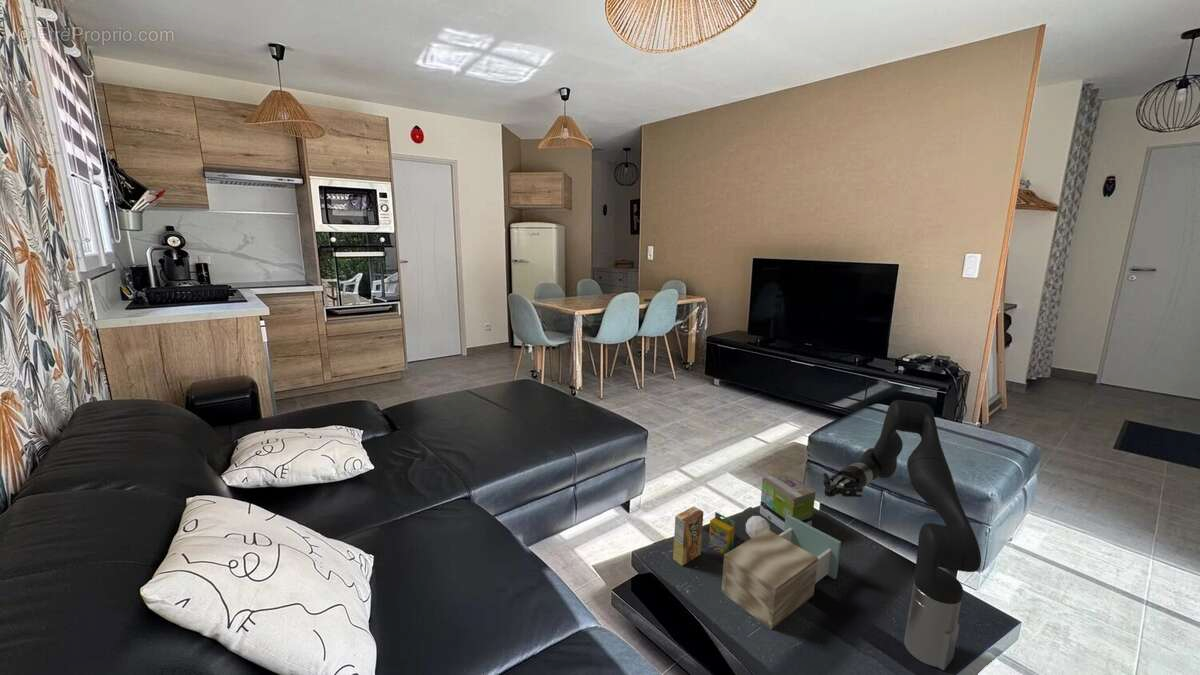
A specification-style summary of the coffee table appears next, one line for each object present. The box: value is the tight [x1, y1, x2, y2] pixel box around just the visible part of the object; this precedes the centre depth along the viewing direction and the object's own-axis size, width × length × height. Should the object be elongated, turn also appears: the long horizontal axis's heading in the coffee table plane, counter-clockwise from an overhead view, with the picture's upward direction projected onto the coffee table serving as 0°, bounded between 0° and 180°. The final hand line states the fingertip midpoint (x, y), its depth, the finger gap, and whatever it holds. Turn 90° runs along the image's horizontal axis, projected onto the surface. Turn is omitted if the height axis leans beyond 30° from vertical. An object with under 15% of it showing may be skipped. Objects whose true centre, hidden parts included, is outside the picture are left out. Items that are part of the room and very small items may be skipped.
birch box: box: [721, 529, 818, 630], centre depth 131 cm, size 16×20×12 cm
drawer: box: [778, 514, 842, 584], centre depth 138 cm, size 17×20×12 cm
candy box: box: [672, 505, 704, 566], centre depth 145 cm, size 9×4×15 cm, turn 129°
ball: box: [745, 515, 771, 539], centre depth 156 cm, size 8×8×8 cm
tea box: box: [759, 472, 816, 532], centre depth 164 cm, size 15×10×15 cm
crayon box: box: [708, 511, 736, 556], centre depth 149 cm, size 7×3×12 cm, turn 42°
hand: (827, 493), depth 144 cm, fingers closed
